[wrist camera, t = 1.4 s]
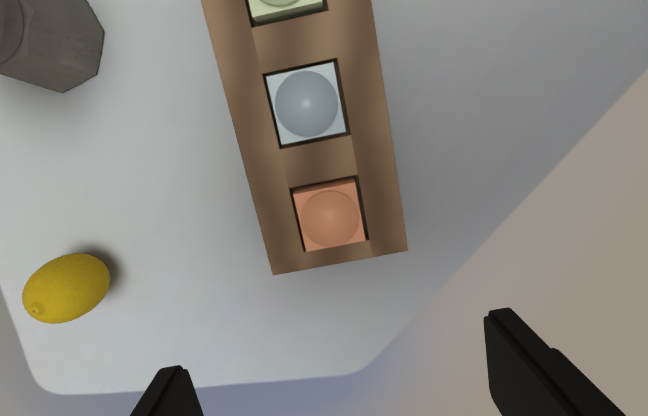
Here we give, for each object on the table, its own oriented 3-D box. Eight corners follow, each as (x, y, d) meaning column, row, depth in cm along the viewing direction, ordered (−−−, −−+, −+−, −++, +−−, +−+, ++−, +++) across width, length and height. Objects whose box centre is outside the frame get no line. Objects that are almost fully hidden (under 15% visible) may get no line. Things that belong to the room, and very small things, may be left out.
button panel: (348, -88, 27) (353, -122, 23) (398, 234, 34) (407, 250, 30) (200, -52, 27) (179, -80, 24) (278, 257, 34) (273, 275, 30)
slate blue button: (332, 66, 27) (333, 60, 24) (343, 130, 29) (346, 131, 26) (271, 80, 28) (264, 75, 25) (285, 142, 29) (280, 145, 26)
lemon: (67, 239, 34) (-8, 275, 26) (124, 244, 34) (66, 282, 26) (73, 289, 35) (3, 338, 28) (127, 294, 35) (73, 344, 28)
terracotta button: (352, 176, 30) (355, 183, 27) (362, 230, 31) (366, 243, 28) (295, 188, 30) (292, 196, 27) (307, 241, 31) (306, 254, 28)
